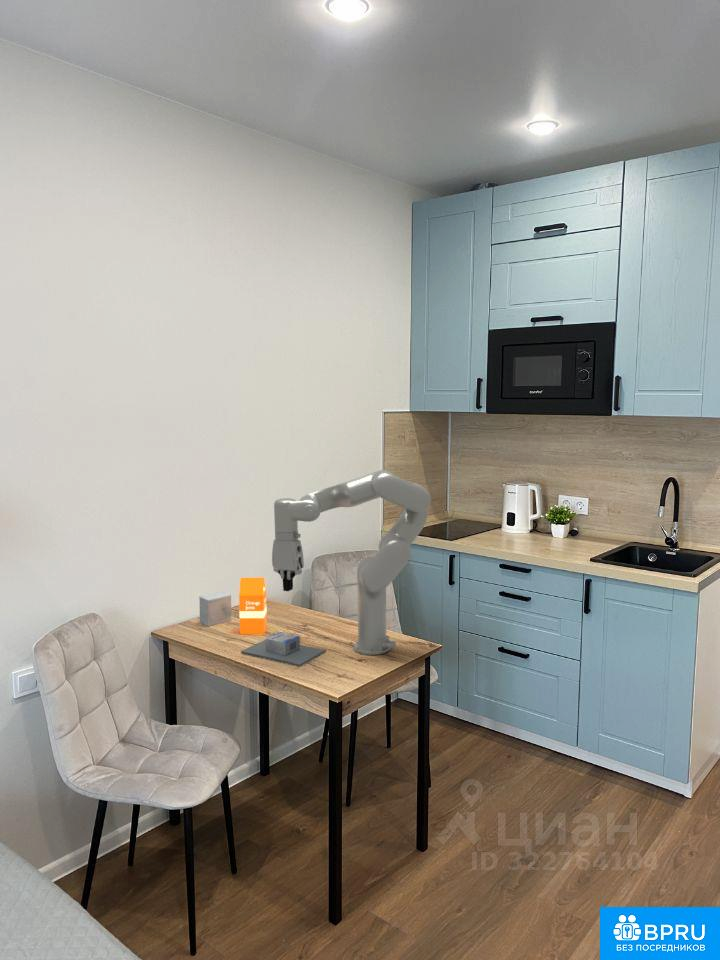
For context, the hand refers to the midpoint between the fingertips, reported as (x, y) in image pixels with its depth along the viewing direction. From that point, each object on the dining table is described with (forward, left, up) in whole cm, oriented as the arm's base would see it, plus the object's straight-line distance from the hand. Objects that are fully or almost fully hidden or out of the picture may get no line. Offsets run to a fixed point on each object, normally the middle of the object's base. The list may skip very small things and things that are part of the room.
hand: (288, 590), depth 240 cm
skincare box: (+43, -12, -22) cm, 50 cm away
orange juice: (+24, -11, -22) cm, 34 cm away
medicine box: (-3, +2, -18) cm, 19 cm away
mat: (+1, +2, -21) cm, 21 cm away
